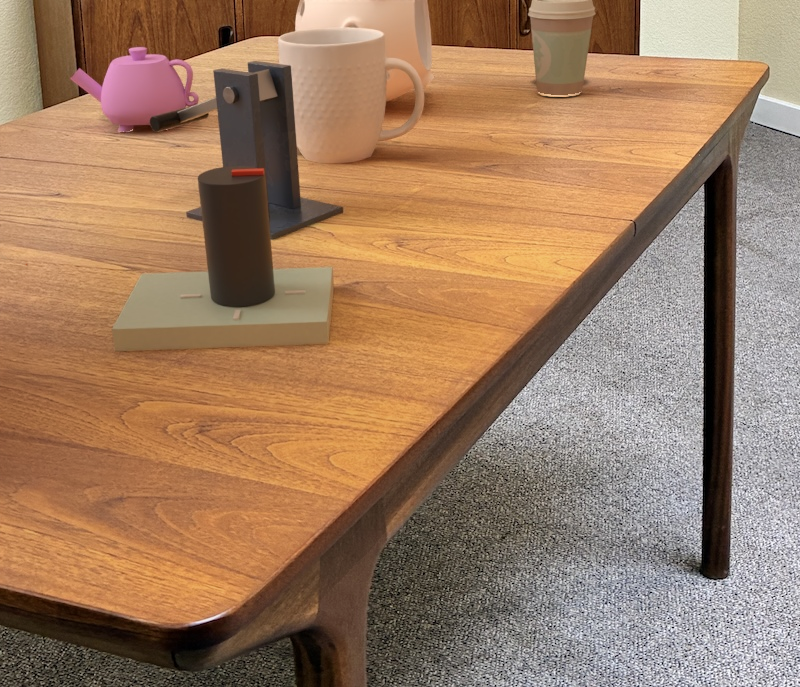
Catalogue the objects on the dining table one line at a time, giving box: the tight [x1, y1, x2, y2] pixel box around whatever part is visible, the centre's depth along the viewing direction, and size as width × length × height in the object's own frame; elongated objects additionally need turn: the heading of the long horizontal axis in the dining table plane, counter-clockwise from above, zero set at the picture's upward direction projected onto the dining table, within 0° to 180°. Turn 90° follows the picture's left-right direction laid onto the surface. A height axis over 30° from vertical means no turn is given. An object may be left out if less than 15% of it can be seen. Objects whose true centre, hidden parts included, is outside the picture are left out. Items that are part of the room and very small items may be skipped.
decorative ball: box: [294, 0, 435, 103], centre depth 137 cm, size 20×17×20 cm
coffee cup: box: [527, 0, 596, 95], centre depth 142 cm, size 8×9×12 cm
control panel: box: [111, 266, 335, 352], centre depth 77 cm, size 14×10×3 cm
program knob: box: [197, 166, 275, 307], centre depth 74 cm, size 4×4×9 cm
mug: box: [277, 27, 425, 165], centre depth 116 cm, size 15×11×13 cm
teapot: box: [69, 46, 200, 133], centre depth 134 cm, size 10×15×9 cm
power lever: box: [149, 69, 278, 133], centre depth 99 cm, size 13×6×2 cm, turn 51°
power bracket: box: [185, 60, 344, 241], centre depth 97 cm, size 11×9×14 cm
